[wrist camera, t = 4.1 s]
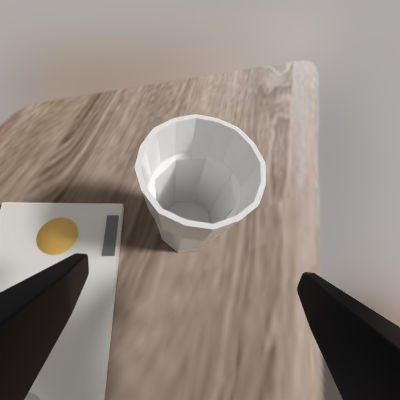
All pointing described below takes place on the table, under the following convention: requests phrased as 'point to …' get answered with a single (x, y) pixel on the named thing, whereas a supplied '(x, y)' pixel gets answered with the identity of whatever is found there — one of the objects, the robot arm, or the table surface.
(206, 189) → the cup
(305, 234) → the table surface
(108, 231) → the indicator panel
